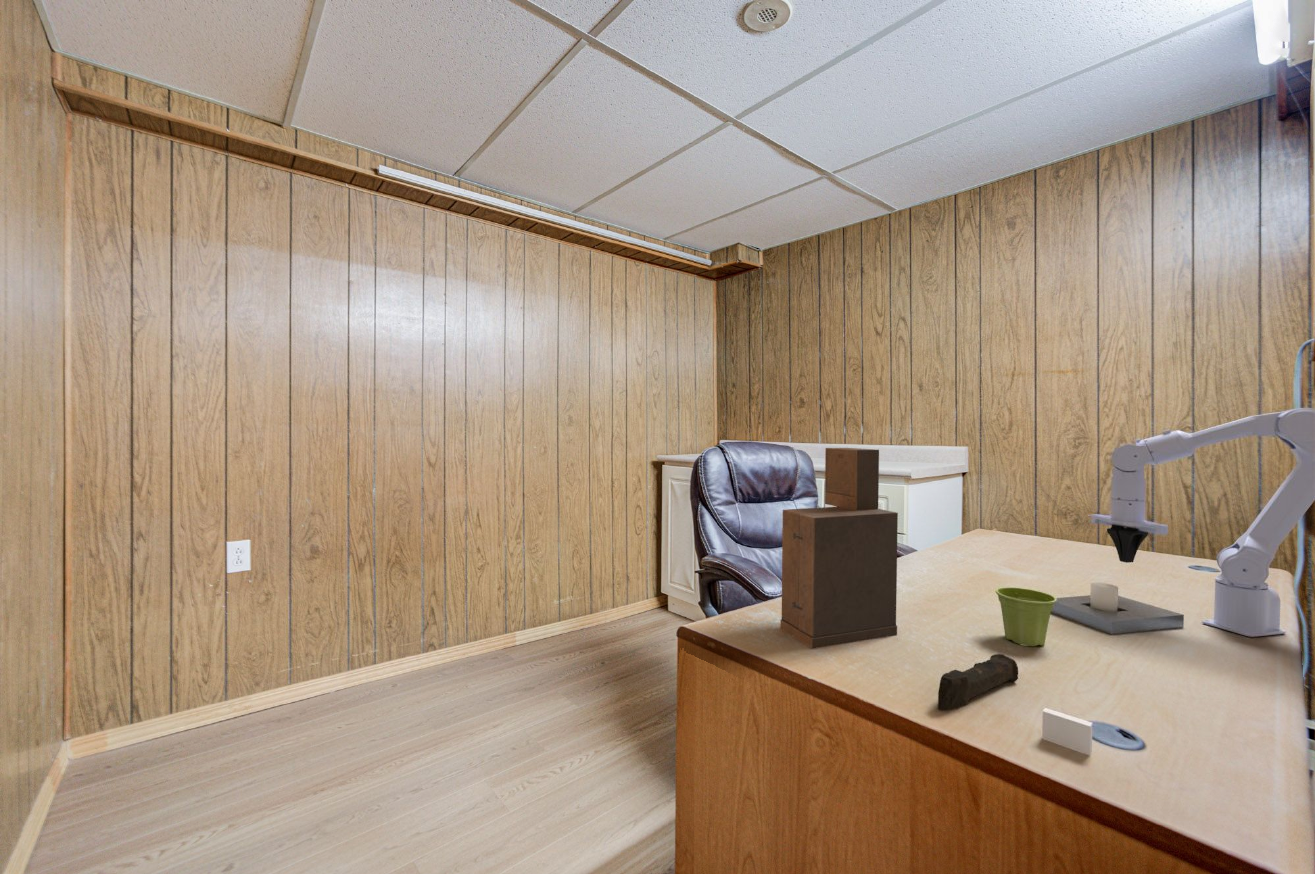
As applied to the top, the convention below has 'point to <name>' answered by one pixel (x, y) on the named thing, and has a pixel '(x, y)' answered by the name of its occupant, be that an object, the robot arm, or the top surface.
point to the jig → (1118, 615)
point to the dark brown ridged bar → (975, 681)
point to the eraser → (1067, 731)
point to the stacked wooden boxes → (841, 558)
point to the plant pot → (1025, 614)
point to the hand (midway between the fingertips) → (1126, 561)
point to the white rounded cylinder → (1104, 597)
